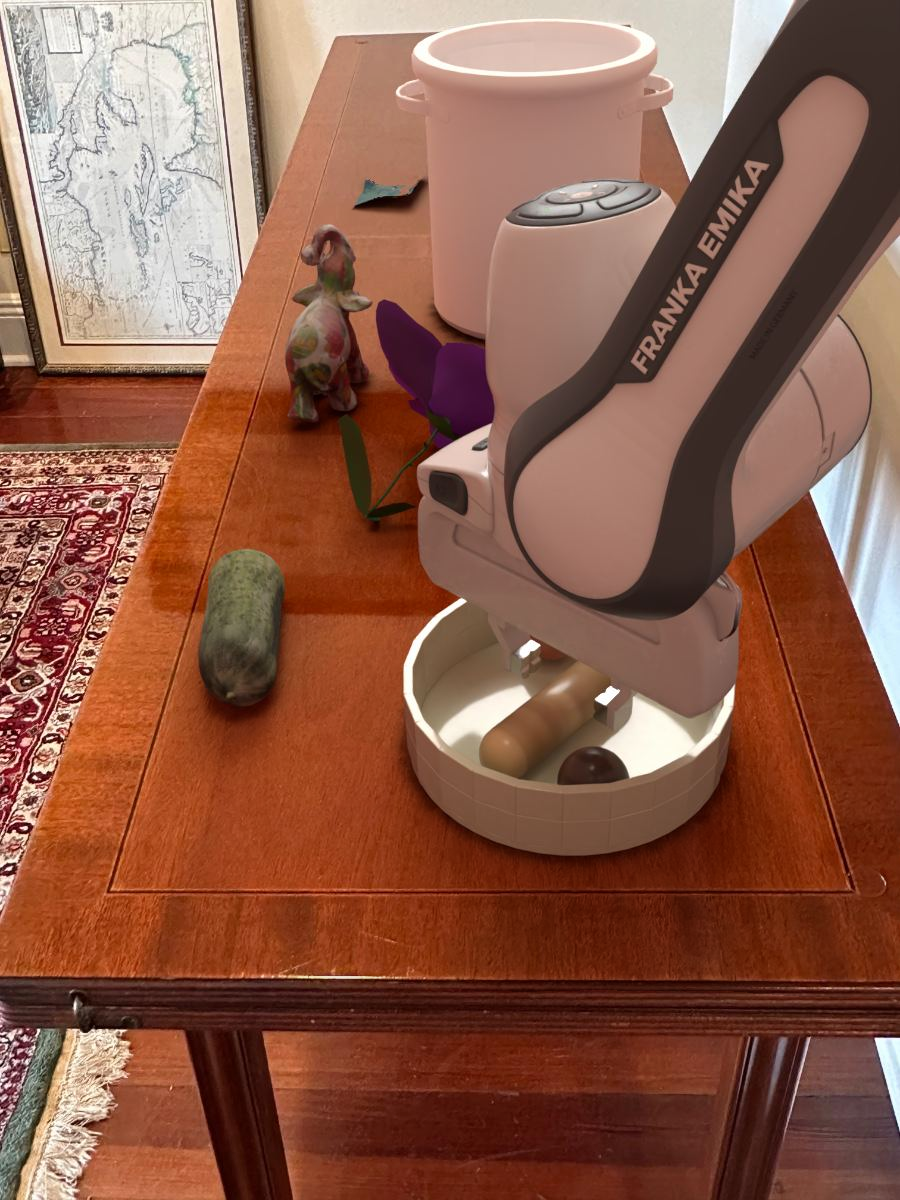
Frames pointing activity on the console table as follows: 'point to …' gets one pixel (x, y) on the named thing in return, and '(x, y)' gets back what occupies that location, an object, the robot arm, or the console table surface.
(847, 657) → the console table surface
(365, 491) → the flower
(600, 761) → the bead walnut
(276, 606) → the vegetable
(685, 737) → the bowl
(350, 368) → the figurine
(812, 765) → the console table surface
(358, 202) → the terrain model
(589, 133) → the pot
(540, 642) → the bead terracotta
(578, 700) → the stick
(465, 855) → the console table surface
